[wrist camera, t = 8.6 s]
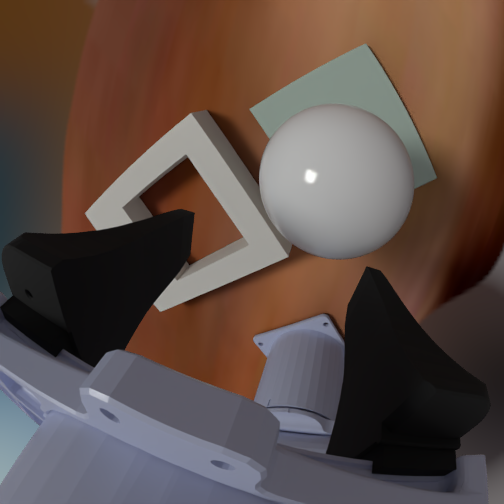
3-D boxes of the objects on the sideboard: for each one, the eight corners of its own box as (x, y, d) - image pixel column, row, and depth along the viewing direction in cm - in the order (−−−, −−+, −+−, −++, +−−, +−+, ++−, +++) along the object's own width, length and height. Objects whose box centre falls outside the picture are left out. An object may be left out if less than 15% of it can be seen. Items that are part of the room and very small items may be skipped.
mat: (435, 176, 17) (437, 178, 17) (326, 227, 22) (325, 230, 21) (365, 44, 15) (365, 43, 14) (251, 108, 19) (249, 109, 18)
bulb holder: (293, 240, 23) (288, 256, 21) (171, 296, 30) (160, 311, 27) (206, 109, 20) (191, 113, 17) (101, 202, 26) (84, 213, 24)
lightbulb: (375, 90, 16) (408, 87, 7) (398, 183, 18) (436, 278, 9) (281, 113, 18) (208, 141, 9) (309, 200, 21) (270, 300, 12)
